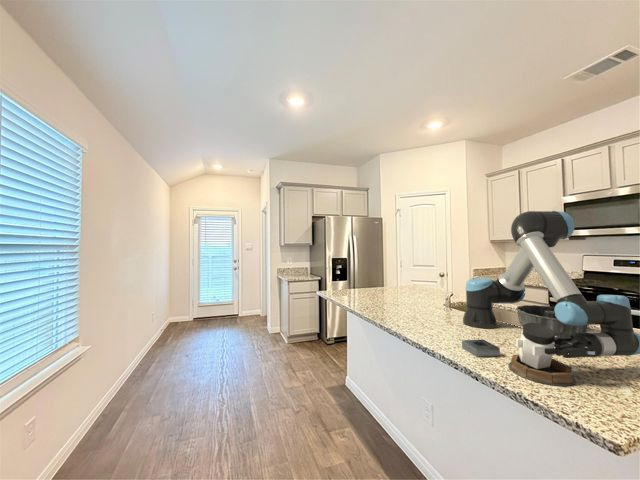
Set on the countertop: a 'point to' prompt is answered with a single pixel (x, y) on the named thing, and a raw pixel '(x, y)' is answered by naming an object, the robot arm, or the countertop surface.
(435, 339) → the countertop surface
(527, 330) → the jar
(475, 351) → the square socket
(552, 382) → the brown octagonal tray
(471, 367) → the countertop surface
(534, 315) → the bundt pan
